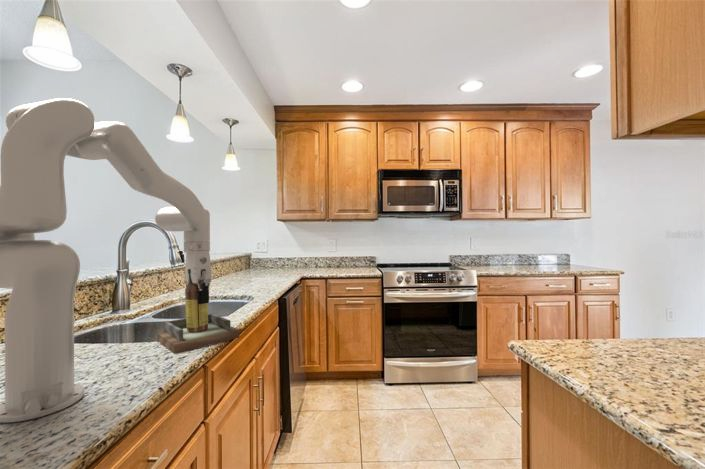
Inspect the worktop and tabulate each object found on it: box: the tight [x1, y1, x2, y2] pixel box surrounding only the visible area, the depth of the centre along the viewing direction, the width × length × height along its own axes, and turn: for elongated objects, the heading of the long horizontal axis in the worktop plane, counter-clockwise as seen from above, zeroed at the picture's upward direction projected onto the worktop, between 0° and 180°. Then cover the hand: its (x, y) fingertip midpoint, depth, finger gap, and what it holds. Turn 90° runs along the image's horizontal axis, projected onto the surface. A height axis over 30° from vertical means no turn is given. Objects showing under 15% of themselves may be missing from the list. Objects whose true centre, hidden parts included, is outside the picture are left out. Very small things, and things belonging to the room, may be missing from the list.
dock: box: [156, 313, 240, 355], centre depth 100 cm, size 16×19×6 cm
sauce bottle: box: [184, 268, 209, 332], centre depth 101 cm, size 6×6×20 cm
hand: (197, 301), depth 101 cm, fingers open, 9 cm apart
